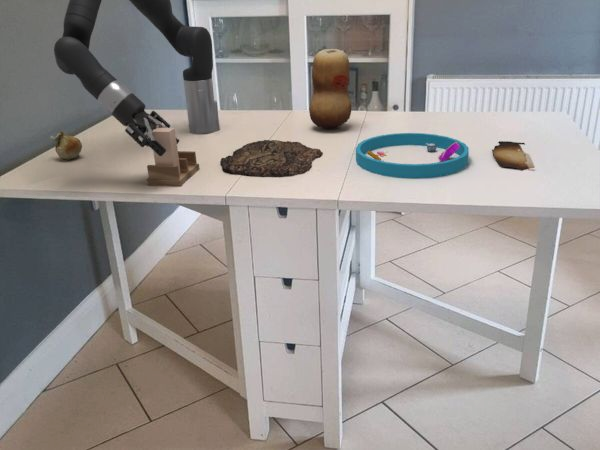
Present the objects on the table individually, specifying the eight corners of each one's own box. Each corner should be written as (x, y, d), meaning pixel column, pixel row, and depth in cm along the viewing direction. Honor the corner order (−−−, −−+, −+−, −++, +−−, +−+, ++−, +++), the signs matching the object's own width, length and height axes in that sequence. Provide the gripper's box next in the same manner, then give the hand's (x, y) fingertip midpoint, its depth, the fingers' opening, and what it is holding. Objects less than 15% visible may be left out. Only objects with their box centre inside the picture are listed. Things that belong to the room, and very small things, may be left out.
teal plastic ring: (472, 181, 145) (474, 158, 143) (350, 178, 151) (350, 156, 148) (463, 146, 172) (465, 126, 170) (360, 145, 178) (360, 125, 175)
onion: (61, 164, 170) (55, 137, 167) (53, 158, 176) (48, 131, 173) (87, 158, 174) (82, 132, 171) (79, 152, 180) (74, 127, 177)
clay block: (162, 172, 155) (156, 127, 150) (180, 173, 154) (174, 128, 149) (157, 177, 152) (150, 131, 147) (175, 177, 151) (169, 131, 146)
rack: (168, 168, 163) (166, 150, 161) (199, 168, 161) (197, 151, 159) (147, 185, 151) (144, 166, 149) (180, 186, 149) (178, 167, 147)
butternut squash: (324, 136, 186) (322, 54, 176) (302, 127, 197) (299, 50, 187) (360, 128, 192) (360, 49, 182) (337, 120, 203) (336, 45, 193)
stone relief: (205, 158, 156) (250, 129, 182) (207, 174, 158) (251, 143, 184) (298, 165, 148) (332, 133, 174) (299, 182, 150) (332, 148, 176)
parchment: (536, 171, 149) (536, 168, 149) (495, 169, 151) (495, 166, 151) (525, 145, 171) (525, 142, 171) (489, 143, 174) (490, 140, 173)
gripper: (115, 98, 139) (167, 147, 142) (142, 86, 152) (189, 131, 154) (99, 120, 143) (150, 167, 145) (126, 107, 155) (173, 150, 158)
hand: (170, 148), depth 150 cm, fingers open, 8 cm apart
